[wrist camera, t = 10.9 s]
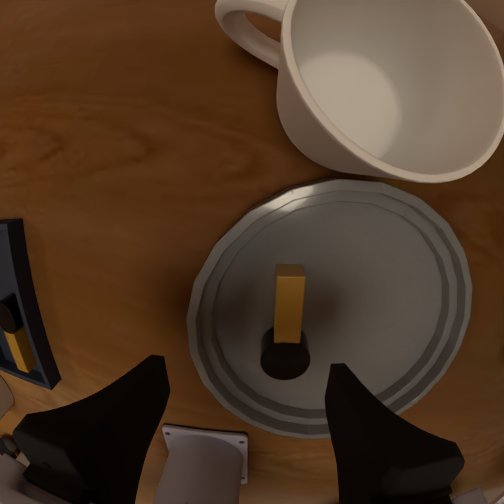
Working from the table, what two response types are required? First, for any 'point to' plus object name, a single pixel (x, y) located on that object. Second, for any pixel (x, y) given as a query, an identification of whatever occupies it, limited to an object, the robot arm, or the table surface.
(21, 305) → the tray
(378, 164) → the mug
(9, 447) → the gaming controller
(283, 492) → the table surface
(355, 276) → the round grey plant saucer
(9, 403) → the pill bottle
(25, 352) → the key
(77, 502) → the robot arm
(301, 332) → the key
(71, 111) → the table surface
